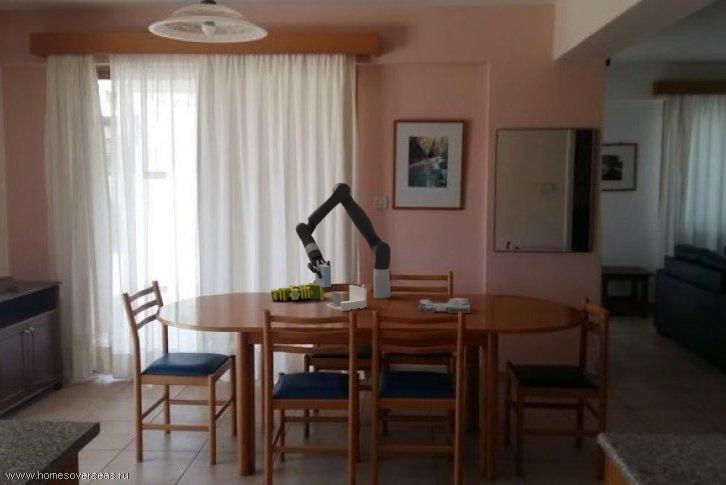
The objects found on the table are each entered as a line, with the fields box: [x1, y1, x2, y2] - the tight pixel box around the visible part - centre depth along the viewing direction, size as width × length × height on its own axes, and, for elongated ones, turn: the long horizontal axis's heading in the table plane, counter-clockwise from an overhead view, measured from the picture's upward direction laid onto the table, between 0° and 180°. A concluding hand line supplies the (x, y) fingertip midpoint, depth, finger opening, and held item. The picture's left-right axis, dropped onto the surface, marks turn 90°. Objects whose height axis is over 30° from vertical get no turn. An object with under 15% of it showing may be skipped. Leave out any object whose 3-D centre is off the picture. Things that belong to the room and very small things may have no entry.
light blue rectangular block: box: [314, 264, 332, 288], centre depth 334 cm, size 4×10×11 cm, turn 33°
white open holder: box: [326, 284, 368, 312], centre depth 340 cm, size 16×16×10 cm
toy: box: [270, 282, 325, 302], centre depth 362 cm, size 17×10×30 cm
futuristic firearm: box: [417, 297, 471, 314], centre depth 332 cm, size 6×28×20 cm
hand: (324, 277), depth 332 cm, fingers closed on light blue rectangular block, 4 cm apart
